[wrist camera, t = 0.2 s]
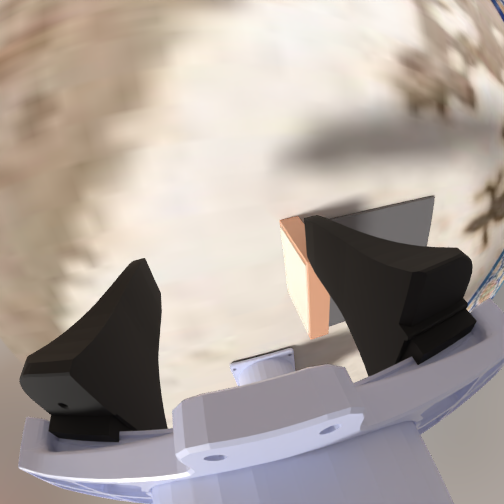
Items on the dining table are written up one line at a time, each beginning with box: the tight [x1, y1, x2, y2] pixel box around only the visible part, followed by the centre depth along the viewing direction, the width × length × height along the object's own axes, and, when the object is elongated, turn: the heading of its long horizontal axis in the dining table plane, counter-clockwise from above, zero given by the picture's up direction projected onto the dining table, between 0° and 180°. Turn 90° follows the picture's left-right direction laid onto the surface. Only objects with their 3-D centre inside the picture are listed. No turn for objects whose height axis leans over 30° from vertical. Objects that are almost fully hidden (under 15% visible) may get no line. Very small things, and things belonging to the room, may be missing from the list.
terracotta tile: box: [280, 216, 330, 339], centre depth 22 cm, size 8×2×6 cm, turn 10°
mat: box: [329, 196, 435, 326], centre depth 28 cm, size 14×14×1 cm
